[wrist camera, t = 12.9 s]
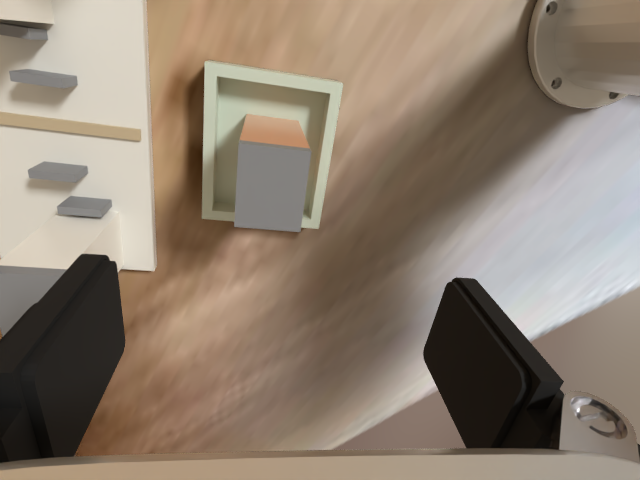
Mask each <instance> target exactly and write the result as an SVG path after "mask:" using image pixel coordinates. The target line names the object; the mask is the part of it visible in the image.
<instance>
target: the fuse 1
mask: <svg viewBox="0 0 640 480" xmlns="http://www.w3.org/2000/svg"><path fill="white" fill-rule="evenodd" d="M0 19H5V20H16V21H27V22H37V23H48V24H54V19H53V11H52V4H51V0H0Z"/></svg>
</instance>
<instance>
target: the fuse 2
mask: <svg viewBox="0 0 640 480" xmlns="http://www.w3.org/2000/svg"><path fill="white" fill-rule="evenodd" d="M81 254H99V255H107V256H108V257H109V259H110V261H115V262H116V264H117V270H118V272H119V271H120V269H121V268H122V266H123V265H124V263H123V251H122V239H121V227H120V215H119V212H117V211H107V213H106V214H105V215H104V216H103V217H90V216H78V215H66V214H58V213H57V214H56V215H55V216H53V217H52V218H51V219H50V220H48V221H47V222H46V223H45V224H44V225H42V226H41V227H40V228H39V229H37V230H36V231H35V232H34V233H33V234H31V235H30V236H29V237H28V238H26V239H25V240H24V241H23V242H21V243H20V244H19V245H18V246H17V247H15V248H14V249H13V250H12V251H10V252H9V253H8V254H7V255H5V256H4V257H3V258H2V259H1V260H0V329H1V333H2V337H3V336H4V335H5V334H6V333H7V332H8V331H9V330H10V329H11V328H12V326H13V325H14V324H15V323H16V322H17V321H18V320H19V319H20V318H21V317H22V315H23V314H24V313H25V312H26V311H27V310H28V309H29V308H30V307H31V306H32V305H33V304H35V303H38V301H39V300H40V299H41V298H42V297H43V296H44V295H45V294H46V293H47V291H48V290H49V289H50V288H51V287H52V286H53V285H54V284H55V283H56V281H57V280H58V279H59V278H60V277H61V276H62V275H63V274H64V272H65V271H66V270H67V269H68V268H69V267H70V266H71V265H72V264H73V262H74V261H75V260H76V259H77V258H78V257H79V256H80V255H81Z"/></svg>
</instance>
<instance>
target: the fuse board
mask: <svg viewBox="0 0 640 480" xmlns="http://www.w3.org/2000/svg"><path fill="white" fill-rule="evenodd" d="M51 4H52V11H53V19H54V24H48V23H37V22H27V21H16V20H5V19H0V257H1V259H2V258H3V257H4V256H5V255H7V254H8V253H9V252H10V251H12V250H13V249H14V248H15V247H17V246H18V245H19V244H20V243H21V242H23V241H24V240H25V239H26V238H28V237H29V236H30V235H31V234H33V233H34V232H35V231H36V230H37V229H39V228H40V227H41V226H42V225H44V224H45V223H46V222H47V221H48V220H50V219H51V218H52V217H53V216H55V215H56V214H57V213H58V214H66V215H78V216H90V217H103V216H104V215H105V214H106V213H107V211H117V212H119V215H120V227H121V239H122V251H123V263H124V265H123V266H122V268H121V269H129V270H145V271H154V270H155V268H156V266H157V252H156V227H155V202H154V177H153V151H152V126H151V101H150V76H149V50H148V25H147V0H51Z"/></svg>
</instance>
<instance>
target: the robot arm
mask: <svg viewBox="0 0 640 480" xmlns="http://www.w3.org/2000/svg"><path fill="white" fill-rule="evenodd" d="M528 57H529V64H530V68H531V71H532V74H533V77H534V79H535V81H536V82H537V84H538V86H539V88H540V89H541V90H542V91H543V92H544V93H545V94H546V95H547V96H548V97H549V98H551V99H552V100H554V101H556V102H557V103H559V104H563V105H566V106H570V107H576V108H582V109H585V108H597V107H601V106H605V105H609V104H611V103H614V102H616V101H618V100H620V99H622V98H624V97H626V96H627V95H636V96H640V0H537V3H536V6H535V8H534V11H533V14H532V19H531V23H530V27H529V35H528ZM124 347H125V334H124V325H123V316H122V307H121V298H120V289H119V280H118V270H117V264H116V262H115V261H110V259H109V257H108V256H107V255H99V254H81V255H80V256H79V257H78V258H77V259H76V260H75V261H74V262H73V264H72V265H71V266H70V267H69V268H68V269H67V270H66V271H65V272H64V274H63V275H62V276H61V277H60V278H59V279H58V280H57V281H56V283H55V284H54V285H53V286H52V287H51V288H50V289H49V290H48V291H47V293H46V294H45V295H44V296H43V297H42V298H41V299H40V300H39V301H38V303H35V304H33V305H32V306H31V307H30V308H29V309H28V310H27V311H26V312H25V313H24V314H23V315H22V317H21V318H20V319H19V320H18V321H17V322H16V323H15V324H14V325H13V326H12V328H11V329H10V330H9V331H8V332H7V333H6V334H5V335H4V336H3V337H2V339H1V340H0V480H640V445H639V444H637V438H636V433H635V431H634V428H633V426H632V425H631V423H630V422H629V420H628V419H627V418H626V417H625V416H624V415H623V414H622V413H621V412H620V411H619V410H618V409H616V408H615V407H614V406H612V405H611V404H610V403H608V402H606V401H604V400H603V399H601V398H599V397H597V396H594V395H592V394H589V393H586V392H581V391H571V392H568V393H567V394H565V395H564V394H563V392H562V391H561V390H560V387H561V385H562V384H563V382H564V381H563V380H562V379H561V378H560V377H559V376H558V374H557V373H556V372H555V371H554V370H553V369H552V368H551V366H550V365H549V364H548V363H547V362H546V360H545V359H544V358H543V357H542V356H541V355H540V353H539V352H538V351H537V350H536V349H535V348H534V347H533V345H532V344H531V343H530V342H529V341H528V339H527V338H526V337H525V336H524V335H523V334H522V332H521V331H520V330H519V329H518V328H517V327H516V326H515V324H514V323H513V322H512V321H511V320H510V319H509V317H508V316H507V315H506V314H505V313H504V312H503V310H502V309H501V308H500V307H499V306H498V305H497V303H496V302H495V301H494V300H493V299H492V298H491V296H490V295H489V294H488V293H487V292H486V291H485V290H484V288H483V287H482V286H481V285H480V284H479V283H478V281H477V280H475V279H471V278H454V279H453V280H452V282H448V283H447V285H446V287H445V290H444V293H443V296H442V299H441V301H440V304H439V307H438V310H437V313H436V316H435V319H434V321H433V324H432V327H431V330H430V333H429V336H428V339H427V341H426V344H425V347H424V352H423V355H424V360H425V363H426V365H427V367H428V369H429V371H430V373H431V375H432V377H433V380H434V382H435V384H436V386H437V388H438V390H439V392H440V394H441V396H442V398H443V400H444V402H445V404H446V406H447V409H448V411H449V413H450V415H451V417H452V419H453V421H454V423H455V425H456V427H457V429H458V432H459V434H460V436H461V437H462V440H463V442H464V444H465V446H466V448H460V449H372V450H371V449H370V450H307V451H252V452H206V453H160V454H128V455H101V456H75V457H74V455H75V453H76V451H77V449H78V446H79V444H80V442H81V440H82V438H83V436H84V434H85V432H86V430H87V428H88V425H89V423H90V421H91V419H92V417H93V415H94V413H95V411H96V409H97V407H98V404H99V402H100V400H101V398H102V396H103V394H104V392H105V390H106V388H107V386H108V383H109V381H110V379H111V377H112V375H113V373H114V371H115V369H116V367H117V365H118V362H119V360H120V358H121V356H122V354H123V351H124Z"/></svg>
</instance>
